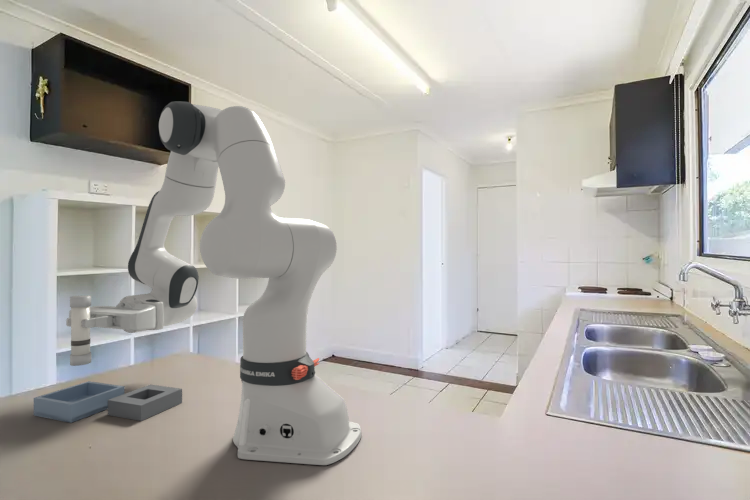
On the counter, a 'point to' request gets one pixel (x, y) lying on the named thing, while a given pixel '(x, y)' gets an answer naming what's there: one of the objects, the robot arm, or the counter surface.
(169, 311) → the robot arm
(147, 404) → the block
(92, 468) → the counter surface
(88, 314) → the fuse
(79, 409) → the parts tray
